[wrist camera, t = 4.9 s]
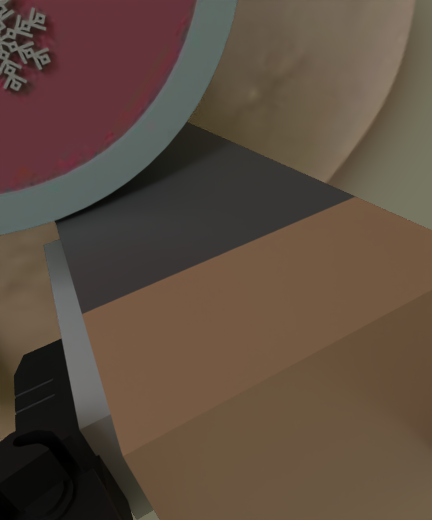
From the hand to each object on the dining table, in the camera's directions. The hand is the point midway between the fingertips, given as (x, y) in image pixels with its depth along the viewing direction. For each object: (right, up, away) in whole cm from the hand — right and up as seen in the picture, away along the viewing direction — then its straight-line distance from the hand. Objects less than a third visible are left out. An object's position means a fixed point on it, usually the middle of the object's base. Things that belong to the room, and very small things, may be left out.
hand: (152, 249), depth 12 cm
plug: (0, 0, 0) cm, 1 cm away
